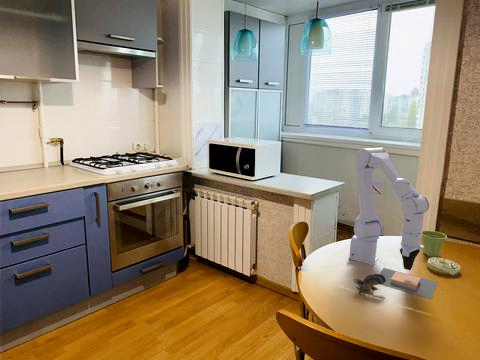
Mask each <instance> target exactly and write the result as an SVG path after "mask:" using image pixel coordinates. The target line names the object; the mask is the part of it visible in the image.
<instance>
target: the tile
mask: <svg viewBox="0 0 480 360" xmlns="http://www.w3.org/2000/svg"><path fill="white" fill-rule="evenodd" d="M395 271H396V272H395V273H394V275H393V276H392V278H391V282H390V283H392V284H395V285H399V286H402V287H406V288H409V289H413V290H416V289H417V287H418V285H419V283H420V278H419V277H420V276H417V277H416V275H413V276H412V274H409V273H406V274H404V273H405V272H402V273H400V272H401V271H398V270H395ZM397 271H398V272H397ZM408 274H409V275H408Z"/></svg>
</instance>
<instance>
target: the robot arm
mask: <svg viewBox="0 0 480 360" xmlns="http://www.w3.org/2000/svg"><path fill="white" fill-rule="evenodd" d="M355 164H356V168H355V169H356V171H355V172H356V181H357V182H356V183H357V193H358V194H357V195H358V205H359V214H358V216H357V217H356V218H354V227H353V232H354V235H353V236H352V237H351V240H350V246H349V255H348V256H349V257H348V260H351V261H355V262H356V261H357V262H360V263H365V264H367V265H372V266H373V265H374V264H375V263H376V262H377V261H378V260H379V257H378V256H377V247H378V245H377V244H378V240H379V238H380V236H381V235H382V234H383V232H384V226H383V225H382V222H381V217H380V216H379V215H377V213H376V211H375V199H374V190H373V186H374V185H373V177H372V173H373V172H374V171H375V170H376V169H379V170H380V171H381V172H382V173H383V175H385V178H386V179H388V180H389V182H390V183H391V189H392V191H393V192H394V194H395V195H396V197H397V198H398V199H399V200H400V202H401V209H402V211H403V212H402V213H403V226H402V234H401V242H400V248H399V253H400V255H401V258H402V265H403V269H404V270H407V271H412V269H413V265H414V262H415V260H416V257H417V256H418V255H419V253H420V251H421V250H423V248H424V246H423V244H421V240H422V234H421V233H422V231H423V225H424V218H425V217H424V216H425V213H426V212H428V210H429V208H430V202H429V199H427V197H426V196H425V195H422V194H420V193H418V192H417V191H416V190H415V188H414V187H413V186H412V184H411V181H410V180H409V179H407V178H402V177H401V176H400V173H398V171H397V169H396V168H395V166H394V165H393V163H392V162H391V160H390V154H389V153H388V152H387V150H386V148H384V147H379V146H378V147H374V148H373V147H369V148H366V147H362V148H360V149H359V150H358V151H357V152H356V154H355ZM420 249H421V250H420Z"/></svg>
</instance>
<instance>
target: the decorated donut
mask: <svg viewBox="0 0 480 360" xmlns="http://www.w3.org/2000/svg"><path fill="white" fill-rule="evenodd" d="M426 262H427V263H426V266H427V268H428V270H430V271H432V272H433V273H436V274H439V275H444V276H458V275H459V274H461V273H460V272H461V265H459V264H458V263H457V262H455V261H453V260H451V259H448V258H443V257H437V256H435V257H430V258H428V259H427V261H426Z"/></svg>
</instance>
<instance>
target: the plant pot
mask: <svg viewBox="0 0 480 360" xmlns="http://www.w3.org/2000/svg"><path fill="white" fill-rule="evenodd" d="M447 238H448V236H447V234H445V233H443V232H440V231H434V230H422V233H421V240H422V245H423V246H424V248H423V249H422V254H424V255H425V256H428V257H430V258H434V257H436V258H440V255H441V251H442V248H443V246H444V244H445V243H444V242H445V241H446V239H447Z"/></svg>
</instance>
